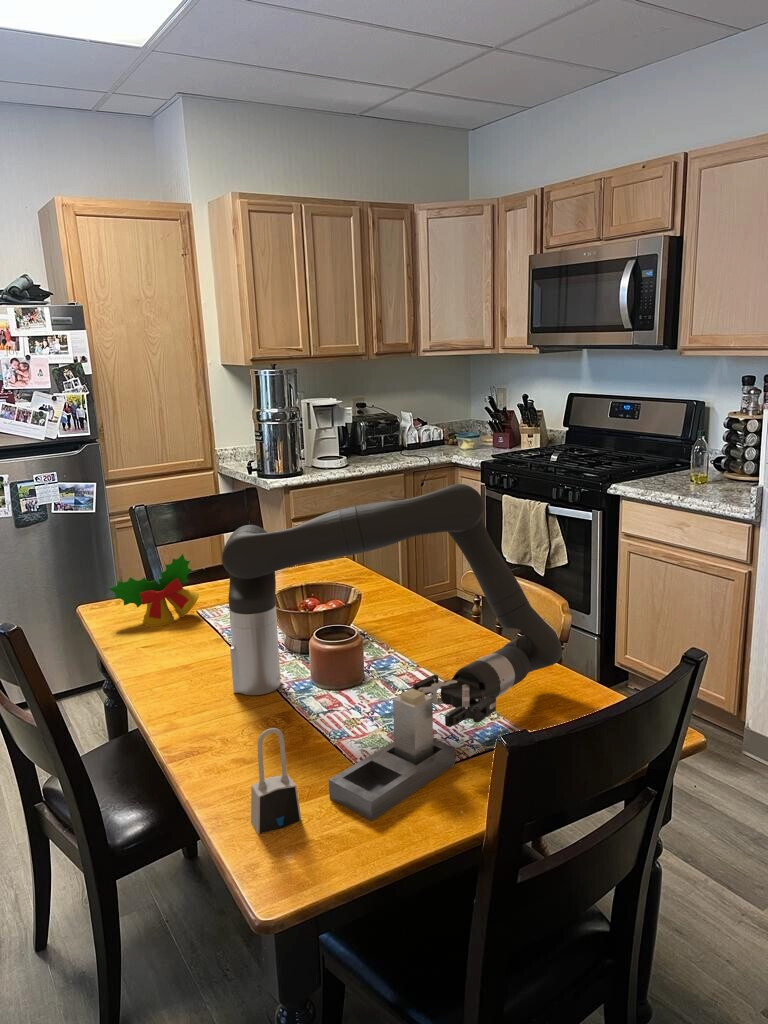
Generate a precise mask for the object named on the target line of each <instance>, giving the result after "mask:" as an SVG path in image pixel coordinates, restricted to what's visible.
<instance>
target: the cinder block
mask: <svg viewBox="0 0 768 1024" xmlns="http://www.w3.org/2000/svg"><path fill="white" fill-rule="evenodd" d="M453 765H454V766H455V765H456V747H455V746H454V745H450V744H448V743H446V742H443V741H442V740H439V739H436V738H434V737H433V755H432V756H431V757H429V758H427V759H426V760H424V761H423V762H421V763H420V764H418V765H415V764H412V763H410V762H408V761H406V760H404V759H401V758H399V757H397V756H395V754H394V740H393V741H392V742H390V743H388V744H386V745H385V746H383V747H382V748H380V749H378V750H377V751H375V752H372V753H371V754H370V755H368V756H367V757H365V758H363V759H362V760H359V761H358V762H355V764H353V765H351V766H349V767H348V768H346V769H344V770H343V771H341V772H340V773H338V774H336V775H334V776H332V777H331V778H329V779H328V792H329V799H331V801H334V802H336V803H338V804H339V805H341V806H343V807H345V808H347V809H349V810H351V811H352V812H354V813H356V814H357V815H359V816H362V817H363V818H365V819H367V820H369V821H370V822H373V821H374V820H376V819H377V818H379V817H380V816H382V815H383V814H385V813H386V812H388V811H389V810H391V809H392V808H394V807H395V806H397V805H398V804H400V803H401V802H403V801H404V800H405V799H407V798H408V797H410V796H412V795H413V794H414V793H416V792H417V791H419V790H420V789H421V788H423V787H425V786H426V785H427V784H428V783H431V782H432V781H433V780H435V779H436V778H438V777H439V776H440V775H443V774H444V773H445V772H447V771H449V770H450V769H451V768H452V766H453ZM454 766H453V767H454ZM446 770H447V771H446Z"/></svg>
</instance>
